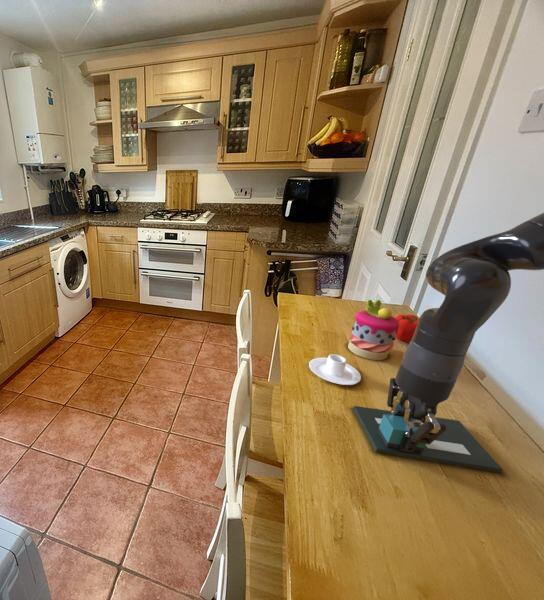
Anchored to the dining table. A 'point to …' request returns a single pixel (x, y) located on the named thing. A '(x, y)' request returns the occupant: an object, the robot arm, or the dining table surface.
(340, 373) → the candle holder
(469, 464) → the chalkboard
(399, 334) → the tomato
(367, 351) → the cake
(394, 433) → the eraser
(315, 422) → the dining table surface
